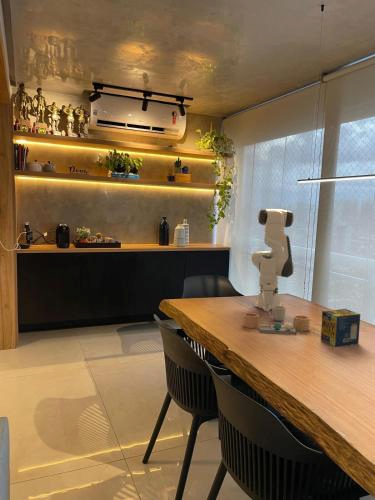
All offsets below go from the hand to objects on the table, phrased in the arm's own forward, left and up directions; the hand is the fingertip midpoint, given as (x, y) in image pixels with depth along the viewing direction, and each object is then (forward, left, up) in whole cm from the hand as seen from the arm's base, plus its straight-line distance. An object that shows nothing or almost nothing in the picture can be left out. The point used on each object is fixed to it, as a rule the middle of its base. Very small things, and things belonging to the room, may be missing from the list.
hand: (266, 308), depth 204 cm
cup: (-23, +8, -13) cm, 27 cm away
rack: (0, +6, -12) cm, 14 cm away
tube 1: (-7, -8, -12) cm, 16 cm away
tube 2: (-7, +20, -12) cm, 25 cm away
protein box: (+13, +36, -13) cm, 40 cm away
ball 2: (0, +6, -9) cm, 11 cm away
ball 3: (0, +12, -9) cm, 15 cm away
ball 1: (0, 0, +1) cm, 1 cm away
